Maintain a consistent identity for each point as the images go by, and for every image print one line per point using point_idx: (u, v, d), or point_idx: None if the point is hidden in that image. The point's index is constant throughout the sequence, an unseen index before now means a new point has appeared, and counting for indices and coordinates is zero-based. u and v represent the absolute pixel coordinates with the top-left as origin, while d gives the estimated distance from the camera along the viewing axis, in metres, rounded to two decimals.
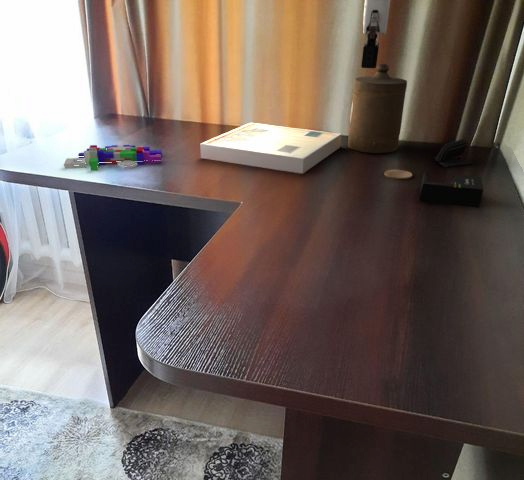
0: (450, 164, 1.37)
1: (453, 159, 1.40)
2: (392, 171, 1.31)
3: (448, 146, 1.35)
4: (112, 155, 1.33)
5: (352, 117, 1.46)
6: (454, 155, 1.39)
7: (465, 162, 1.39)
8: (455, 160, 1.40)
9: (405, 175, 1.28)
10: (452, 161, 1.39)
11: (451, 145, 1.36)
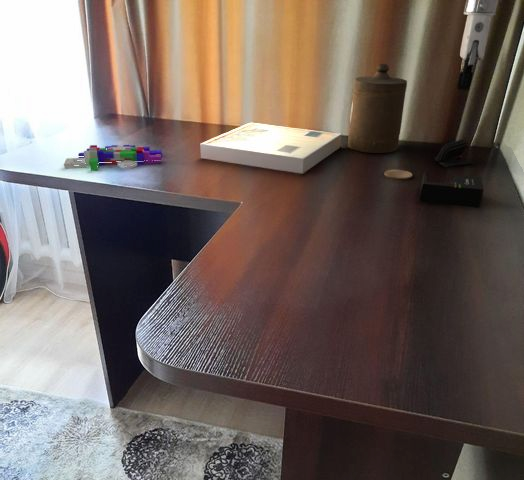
0: (450, 164, 1.37)
1: (453, 159, 1.40)
2: (392, 171, 1.31)
3: (448, 146, 1.35)
4: (112, 155, 1.33)
5: (352, 117, 1.46)
6: (454, 155, 1.39)
7: (465, 162, 1.39)
8: (455, 160, 1.40)
9: (405, 175, 1.28)
10: (452, 161, 1.39)
11: (451, 145, 1.36)
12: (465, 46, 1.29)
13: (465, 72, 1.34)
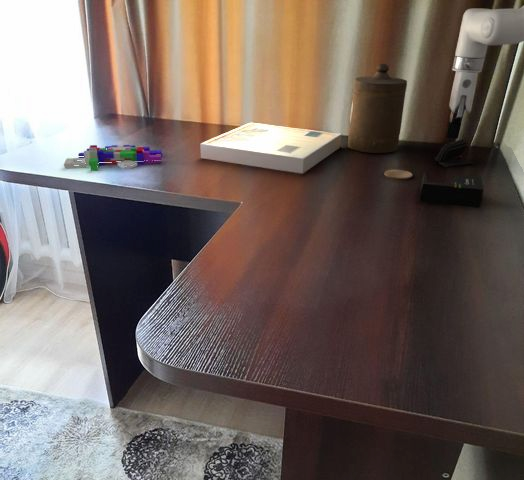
0: (450, 164, 1.37)
1: (453, 159, 1.40)
2: (392, 171, 1.31)
3: (448, 146, 1.35)
4: (112, 155, 1.33)
5: (352, 117, 1.46)
6: (454, 155, 1.39)
7: (465, 162, 1.39)
8: (455, 160, 1.40)
9: (405, 175, 1.28)
10: (452, 161, 1.39)
11: (451, 145, 1.36)
12: (453, 100, 1.36)
13: (454, 123, 1.41)
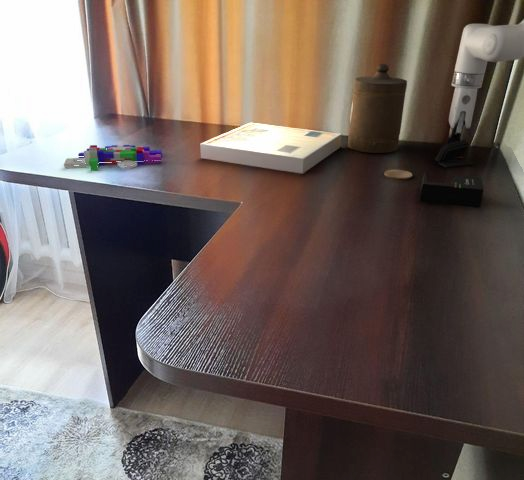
0: (449, 165, 1.37)
1: (454, 160, 1.40)
2: (392, 171, 1.31)
3: (448, 146, 1.35)
4: (112, 155, 1.33)
5: (352, 117, 1.46)
6: (454, 156, 1.39)
7: (465, 163, 1.38)
8: (455, 161, 1.39)
9: (405, 175, 1.28)
10: (452, 162, 1.38)
11: (451, 145, 1.35)
12: (453, 116, 1.34)
13: (453, 138, 1.39)
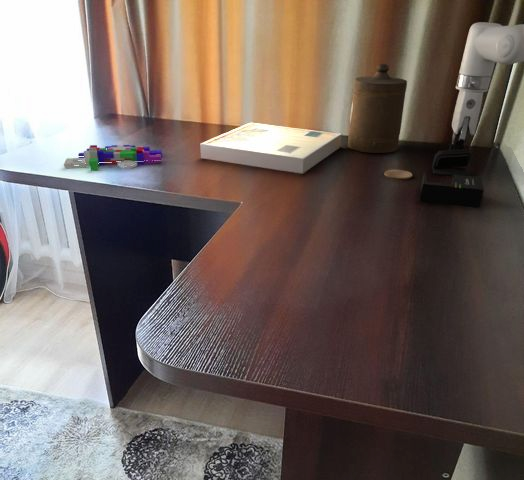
0: (440, 172, 1.31)
1: (453, 169, 1.33)
2: (392, 171, 1.31)
3: (441, 153, 1.30)
4: (112, 155, 1.33)
5: (352, 117, 1.46)
6: (453, 164, 1.32)
7: (461, 173, 1.30)
8: (454, 170, 1.32)
9: (405, 175, 1.28)
10: (447, 170, 1.32)
11: (445, 152, 1.29)
12: (456, 121, 1.25)
13: (456, 145, 1.31)
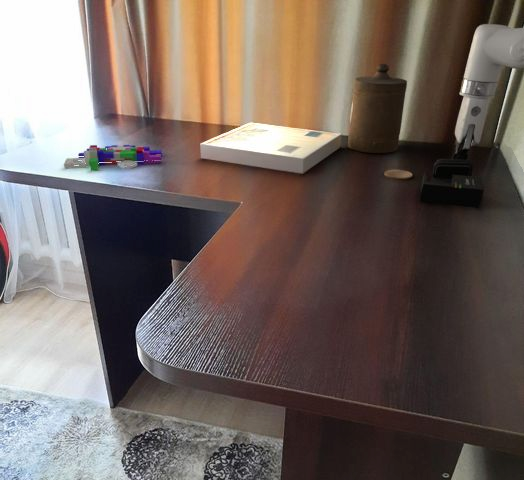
0: (437, 182, 1.24)
1: None
2: (392, 171, 1.31)
3: (439, 161, 1.23)
4: (112, 155, 1.33)
5: (352, 117, 1.46)
6: None
7: None
8: None
9: (405, 175, 1.28)
10: (446, 180, 1.25)
11: (444, 161, 1.23)
12: (460, 129, 1.18)
13: (460, 154, 1.23)
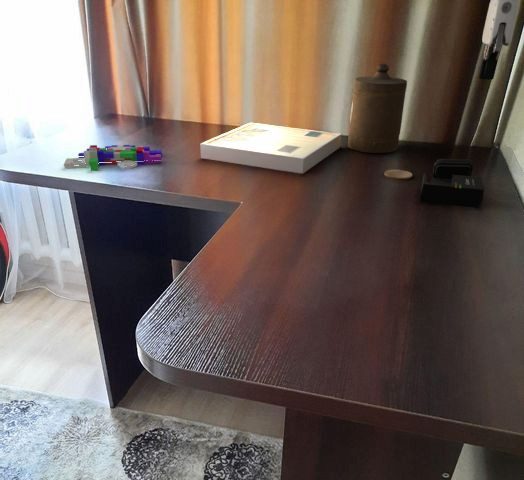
0: (437, 182, 1.24)
1: None
2: (392, 171, 1.31)
3: (439, 161, 1.23)
4: (112, 155, 1.33)
5: (352, 117, 1.46)
6: None
7: None
8: None
9: (405, 175, 1.28)
10: (446, 180, 1.25)
11: (444, 161, 1.23)
12: (490, 30, 1.14)
13: (489, 59, 1.19)
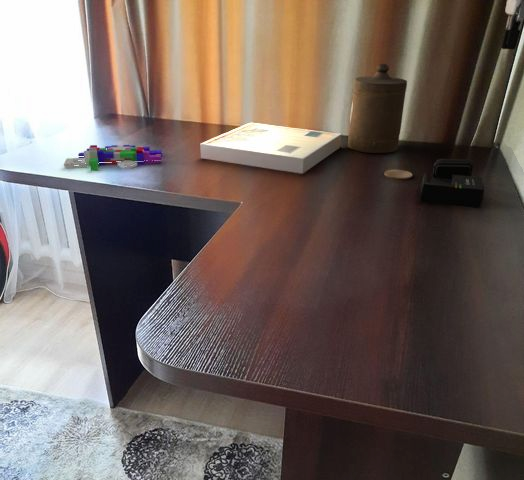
0: (437, 182, 1.24)
1: None
2: (392, 171, 1.31)
3: (439, 161, 1.23)
4: (112, 155, 1.33)
5: (352, 117, 1.46)
6: None
7: None
8: None
9: (405, 175, 1.28)
10: (446, 180, 1.25)
11: (444, 161, 1.23)
12: None
13: (512, 29, 1.23)
